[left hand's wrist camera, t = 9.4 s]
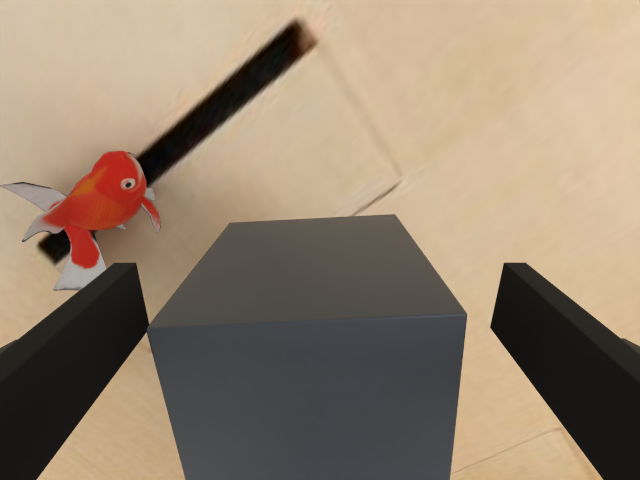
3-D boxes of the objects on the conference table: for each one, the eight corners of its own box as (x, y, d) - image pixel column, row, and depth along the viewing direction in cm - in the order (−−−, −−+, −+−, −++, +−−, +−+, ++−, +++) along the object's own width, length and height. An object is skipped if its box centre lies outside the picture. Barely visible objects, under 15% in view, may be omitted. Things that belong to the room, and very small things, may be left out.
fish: (221, 247, 29) (93, 287, 21) (132, 290, 38) (17, 330, 29) (171, 125, 29) (23, 117, 21) (94, 197, 38) (-32, 211, 29)
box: (229, 222, 18) (144, 328, 10) (395, 213, 18) (468, 313, 9) (273, 515, 26) (249, 724, 17) (388, 511, 26) (425, 719, 17)
